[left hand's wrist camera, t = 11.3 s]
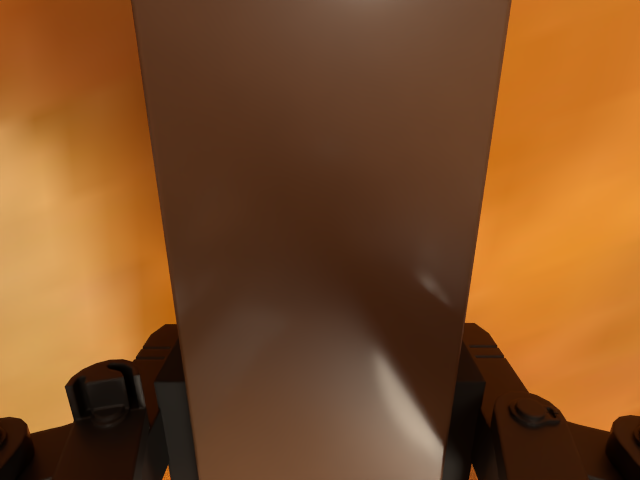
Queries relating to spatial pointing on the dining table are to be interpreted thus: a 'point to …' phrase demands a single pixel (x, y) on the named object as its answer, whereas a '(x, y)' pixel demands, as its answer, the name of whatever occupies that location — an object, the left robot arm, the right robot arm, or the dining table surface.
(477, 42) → the beam
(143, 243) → the dining table surface
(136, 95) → the dining table surface
